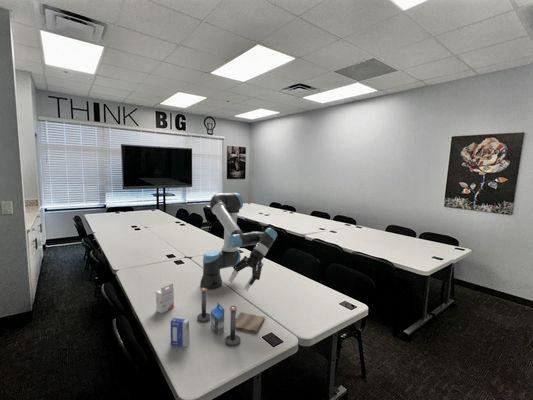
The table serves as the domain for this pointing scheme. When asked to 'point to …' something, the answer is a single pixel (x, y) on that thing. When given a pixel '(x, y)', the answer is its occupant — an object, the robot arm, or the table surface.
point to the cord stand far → (203, 308)
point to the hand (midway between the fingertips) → (237, 285)
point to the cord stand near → (232, 329)
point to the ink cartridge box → (165, 299)
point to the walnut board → (249, 322)
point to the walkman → (179, 332)
